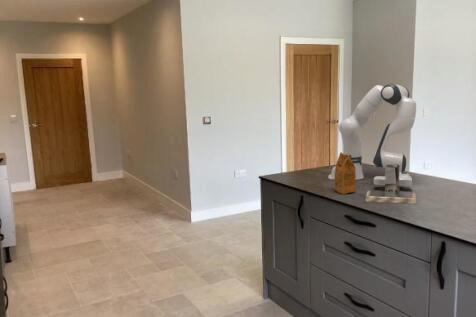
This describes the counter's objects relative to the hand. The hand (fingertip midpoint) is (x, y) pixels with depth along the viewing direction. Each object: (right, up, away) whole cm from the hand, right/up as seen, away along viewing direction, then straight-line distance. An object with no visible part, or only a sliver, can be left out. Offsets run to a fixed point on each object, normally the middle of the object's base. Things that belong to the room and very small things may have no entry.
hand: (392, 184), depth 229 cm
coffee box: (-1, -6, -3) cm, 7 cm away
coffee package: (-23, -5, +10) cm, 26 cm away
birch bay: (-5, -7, -11) cm, 14 cm away
